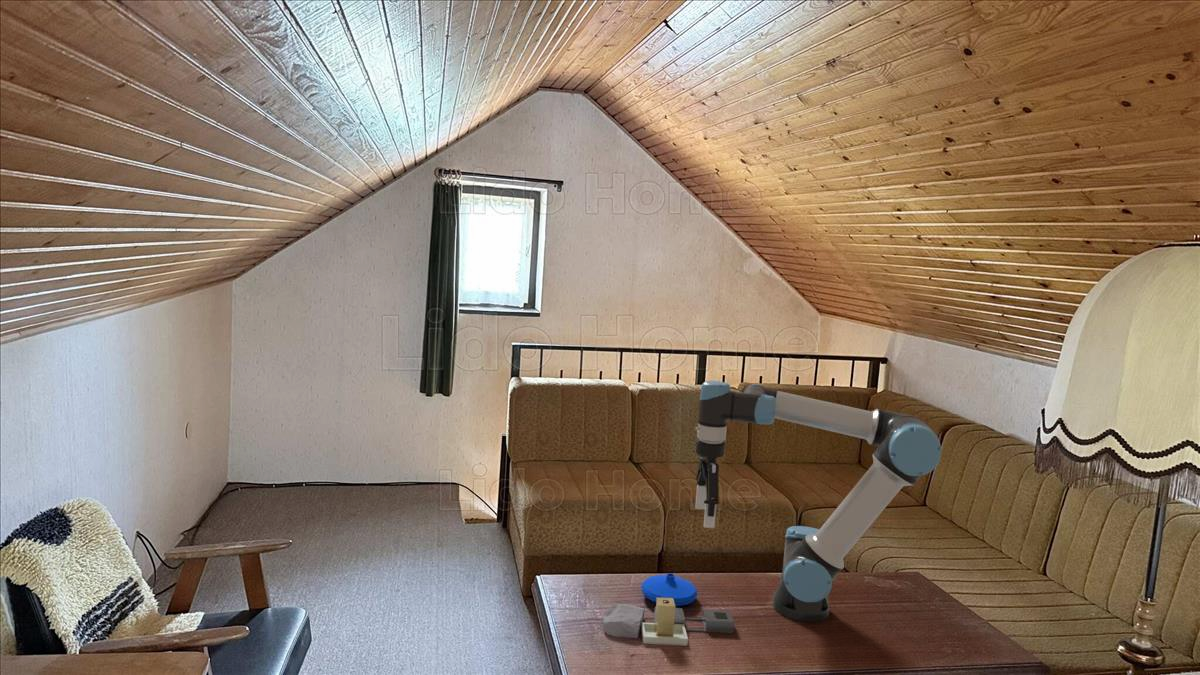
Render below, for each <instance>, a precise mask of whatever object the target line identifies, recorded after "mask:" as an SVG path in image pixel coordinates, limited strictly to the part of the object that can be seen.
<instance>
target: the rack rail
mask: <svg viewBox="0 0 1200 675" xmlns="http://www.w3.org/2000/svg"><path fill="white" fill-rule="evenodd" d="M653 612H654V613H653V621H654V622H655V614H656V606H655V607H654V610H653ZM686 621H701V623H702V625H703V628H704V629H703V628H702V629H701V628H700V629H698V628H685V630H686V632H705V633H722V634H723V633H727V634H729V633H730V634H733V633H734V631H735V630H734V629H735V620H734V618H733V615H732V613H731V611H730V610H729V609H727V610H726V609H724V610H723V609H722V610H721V609H706V608H705V609H704V608H703V609H701V618H698V617H697V618H696V617H685V613H684V610H683V608H682V607H681V608H680V607H675V617H674V624H684V626H685V627H686Z"/></svg>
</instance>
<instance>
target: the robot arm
mask: <svg viewBox="0 0 1200 675" xmlns="http://www.w3.org/2000/svg"><path fill="white" fill-rule="evenodd" d="M698 400H699V401H698V402H699V403H698V404H699V405H698V417H697V418H698V420H697V426H695V428H694V429H695V431H696V432H697V433H696V437H697V439H696V441H695V453H696V454H697V455H698V456H699V461H698V466H697V471H696V476H695V480H696V484H697V485H696V493H695V508H694V509H695V510H704V516H703V528H707V529H708V528H709V529H715V527H716V526H715V524H716V517H717V515H716V514H717V505H719V504H720V499H719V497H720V496H719V489H720V488H719V472H720V471H719V469H720V465H719V464H718V463H717V462H716V461H717V459H718V458H723V457H724V456H725V450H726V449H725V448H726V443H725V441H726V439H727V428H728V425H727V424H728V421H734V422H743V423H750V424H757V425H772V424H774V421H775V419H777V420H782V421H784V422H785V421H786V422H790V423H794V424H798V425H802V426H803V425H804V426H807V427H812V428H816V429H818V430H819V429H821V430H824V431H829V432H833V433H836V434H837V433H838V434H842V435H845V436H849V437H854V438H859V439H863V440H866V441H867V443H868V444H869V445H871V446H876V447H877V448H876V450H874V451H873V453H872V461H873V462H872V464H871V466H870V467H869V468H868V469H867V471H866V472H865V473H864V474H863V475H862V476H861V478H860V479H859V480H858V482H857V483H856V484H855V485H854V486H853V488H852V489H851V491H849V492H848V494H847V495H846V497H844V499H843V500H842V501H841V502H840V504H838V506H837V508H835V510H834V511H833V512H832V514H830V516H829V517H828V518H827V519H826V521H825V522H824V523H823V525H822V526H821V527H820V528H815V527H811V526H802V525H793V526H789V527H788V528H787V529H786V532H785V535H784V538H785V539H784V540H785V541H784V549H783V550H784V553H783V562H782V572H781V573H782V574H781V578H780V581H779V583H778V585H777V588H776V589H775V592H774V593H773V597H772V607H773V608H774V609H775V611H777V612H778V614H780V615H781V616H784V617H786V618H789V619H791V620H795V621H797V622H798V621H799V622H803V623H817V622H823V621H825V620H826V619H827V618H828V617H829V615H830V604H829V598H828V596H829V594H830V592H831V590H832V587H833V581H834V580H835V579H836V577H837V576H838V575H839V574H840V573H841V571H842V570H843V569H845V562H844V558H845V556H846V555H847V554H848V553H849V552H850V551H851V549H852V548H853V547H854V546H855V544H856V543H857V542H858V540H860V539H861V537H862V536H863V535H864V533H866V531H867V530H868V529H869V528H870V527H871V525H873V523H874V522H875V520H877V519H878V517H879V516H880V515H881V513H882V512H883V511H884V510H885V508H887V507H888V505H889V504H891V502H892V500H893V499H894V498H895V497H896V495H898V493H899V492H900V490H901V489H902V488H904V487H909V486H911V487H912V486H914V484H916V482H917V481H918V480H919V479H920V477H921V476H924V475H927V474H930V473H931V472H933V471H934V470H935V469H936V467H938V465H939V463H940V461H941V457H942V446H941V441H940V440H939V437H938V435H937V434H936V432H935V431H934V430H933V429H932V428H930V427H929V425H928V424H927V422H925V421H924V420H923V419H922V418H919V417H918V416H915V415H912V414H907V413H902V412H897V411H889V410H884V409H879V408H875V409H874V410H866V409H862V408H859V407H858V408H857V407H852V406H848V405H843V404H839V403H835V402H829V401H825V400H822V399H815V398H813V397H808V396H803V395H799V394H793V393H790V392H785V391H781V390H776V389H775V390H774V389H771V388H767V387H765V386H764V385H762V384H758V383H755V384H750V385H749V386H747V387H746V388H745V389H744V390H743V392H739V391H732V390H731V386H730V384H729V383H727V382H724V381H720V380H719V381H718V380H708V381H704V382H703V383H702V384H701V388H700V396H699V399H698Z"/></svg>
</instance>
